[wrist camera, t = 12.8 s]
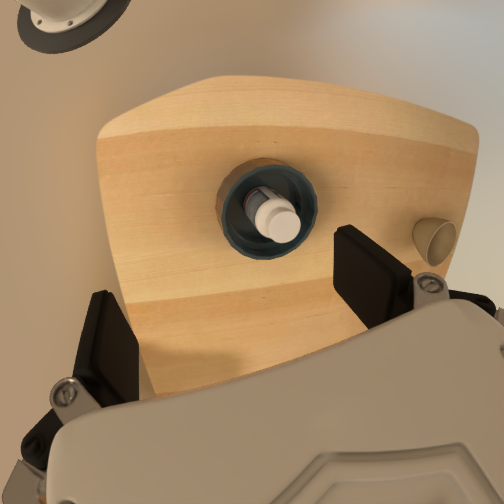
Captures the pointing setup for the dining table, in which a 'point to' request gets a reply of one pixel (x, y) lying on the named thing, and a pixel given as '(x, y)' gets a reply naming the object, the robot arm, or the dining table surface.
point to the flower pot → (435, 239)
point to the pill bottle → (272, 214)
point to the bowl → (240, 226)
